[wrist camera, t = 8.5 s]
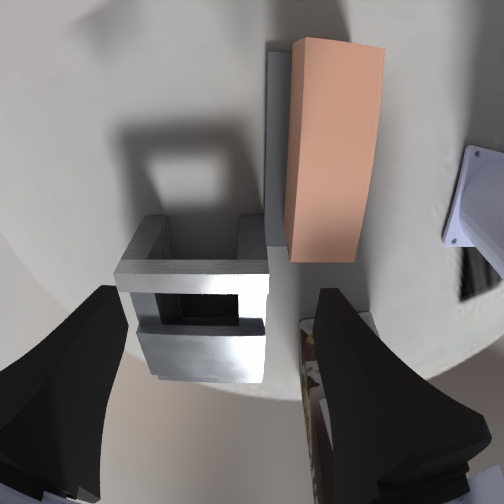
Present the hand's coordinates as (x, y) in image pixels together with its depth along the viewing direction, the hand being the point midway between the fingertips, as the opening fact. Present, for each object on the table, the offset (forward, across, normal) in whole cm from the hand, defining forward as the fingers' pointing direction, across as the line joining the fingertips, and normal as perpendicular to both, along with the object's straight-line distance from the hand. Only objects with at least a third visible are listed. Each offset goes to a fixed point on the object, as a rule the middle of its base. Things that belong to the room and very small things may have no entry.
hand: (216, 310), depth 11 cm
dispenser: (+10, +2, +6) cm, 12 cm away
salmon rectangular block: (+9, -5, -4) cm, 11 cm away
